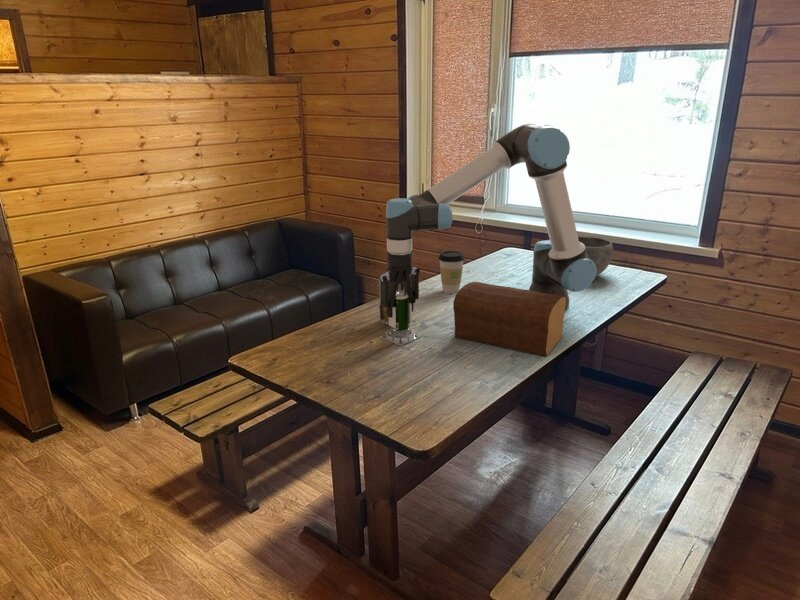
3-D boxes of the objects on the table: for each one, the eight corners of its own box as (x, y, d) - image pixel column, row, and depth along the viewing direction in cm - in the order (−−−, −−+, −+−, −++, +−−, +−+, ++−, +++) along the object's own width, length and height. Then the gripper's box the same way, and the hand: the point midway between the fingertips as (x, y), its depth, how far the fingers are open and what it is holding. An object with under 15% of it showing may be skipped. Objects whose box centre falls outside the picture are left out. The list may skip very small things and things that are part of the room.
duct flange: (421, 337, 182) (421, 332, 181) (400, 346, 176) (400, 340, 175) (400, 329, 188) (400, 324, 187) (379, 337, 182) (379, 332, 181)
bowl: (617, 284, 228) (621, 246, 222) (563, 284, 228) (566, 247, 223) (600, 268, 247) (604, 233, 242) (550, 268, 248) (553, 234, 242)
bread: (545, 359, 166) (549, 307, 160) (451, 339, 180) (452, 290, 175) (563, 337, 181) (568, 288, 175) (475, 320, 195) (476, 274, 189)
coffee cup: (464, 295, 217) (465, 257, 212) (438, 295, 218) (438, 257, 212) (462, 287, 227) (463, 249, 221) (437, 287, 227) (437, 250, 222)
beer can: (404, 334, 177) (403, 297, 173) (388, 331, 180) (388, 294, 176) (412, 328, 182) (411, 291, 178) (396, 325, 184) (396, 289, 180)
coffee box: (412, 320, 195) (411, 274, 189) (404, 327, 189) (403, 280, 184) (387, 316, 199) (386, 271, 193) (379, 323, 193) (377, 277, 188)
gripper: (416, 244, 180) (417, 314, 188) (366, 253, 170) (368, 327, 178) (431, 249, 174) (431, 321, 182) (380, 259, 164) (382, 334, 172)
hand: (400, 323), depth 180 cm, fingers closed on beer can, 5 cm apart
